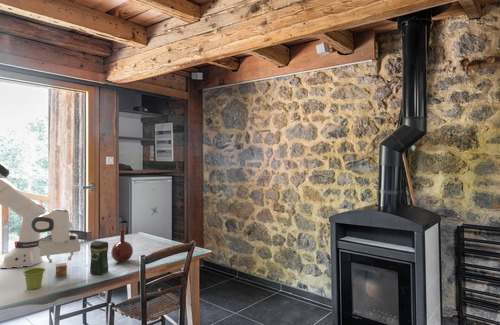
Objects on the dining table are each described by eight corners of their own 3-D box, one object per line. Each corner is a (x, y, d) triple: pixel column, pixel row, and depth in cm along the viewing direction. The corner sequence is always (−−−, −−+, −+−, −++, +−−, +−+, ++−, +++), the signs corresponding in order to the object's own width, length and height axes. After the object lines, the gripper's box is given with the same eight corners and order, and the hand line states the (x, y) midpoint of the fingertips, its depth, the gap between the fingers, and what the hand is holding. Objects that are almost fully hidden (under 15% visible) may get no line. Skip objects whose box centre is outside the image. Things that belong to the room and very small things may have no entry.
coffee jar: (110, 271, 196) (111, 240, 196) (101, 276, 188) (101, 243, 188) (97, 269, 199) (97, 239, 199) (87, 274, 191) (87, 242, 191)
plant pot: (48, 283, 176) (48, 267, 176) (37, 291, 166) (38, 274, 166) (30, 283, 175) (30, 267, 175) (19, 291, 166) (19, 273, 166)
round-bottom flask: (137, 260, 218) (137, 230, 217) (122, 266, 206) (122, 234, 205) (121, 257, 223) (122, 228, 222) (106, 263, 211) (106, 232, 210)
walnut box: (56, 278, 184) (56, 267, 184) (55, 275, 189) (55, 264, 189) (66, 276, 187) (66, 265, 187) (66, 273, 192) (66, 262, 192)
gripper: (38, 240, 179) (38, 265, 179) (80, 236, 190) (80, 260, 190) (38, 238, 184) (38, 262, 184) (79, 234, 195) (79, 257, 195)
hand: (60, 261), depth 187 cm, fingers open, 8 cm apart
